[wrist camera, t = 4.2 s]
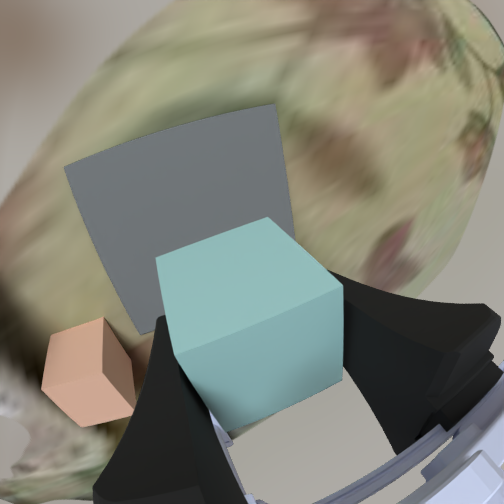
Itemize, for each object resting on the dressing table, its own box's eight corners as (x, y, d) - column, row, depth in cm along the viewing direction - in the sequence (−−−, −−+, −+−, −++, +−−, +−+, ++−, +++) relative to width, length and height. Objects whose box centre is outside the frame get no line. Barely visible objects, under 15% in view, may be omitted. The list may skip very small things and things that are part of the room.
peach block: (131, 359, 20) (137, 413, 16) (82, 374, 19) (81, 427, 15) (103, 316, 18) (102, 372, 14) (51, 334, 17) (41, 389, 13)
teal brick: (284, 303, 14) (342, 380, 10) (193, 340, 13) (225, 432, 9) (267, 216, 12) (342, 285, 8) (155, 257, 11) (174, 355, 7)
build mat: (298, 274, 22) (299, 275, 22) (139, 333, 20) (140, 335, 19) (273, 103, 16) (275, 103, 16) (64, 166, 13) (63, 167, 13)
